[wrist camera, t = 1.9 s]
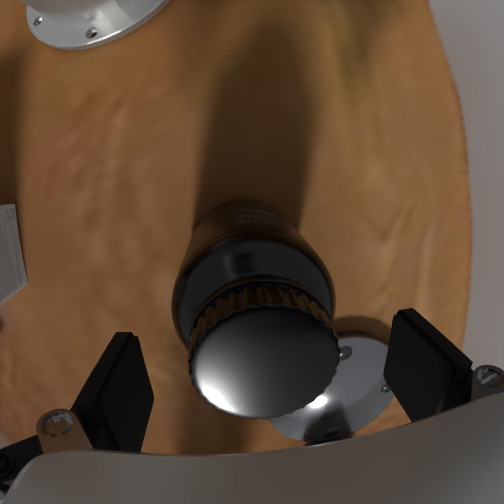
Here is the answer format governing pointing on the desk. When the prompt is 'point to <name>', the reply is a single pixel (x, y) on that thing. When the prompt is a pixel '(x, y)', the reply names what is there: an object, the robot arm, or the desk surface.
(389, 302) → the desk surface
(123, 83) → the desk surface
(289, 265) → the supplement bottle
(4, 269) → the light bulb box
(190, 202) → the desk surface
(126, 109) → the desk surface
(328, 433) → the flange disc
